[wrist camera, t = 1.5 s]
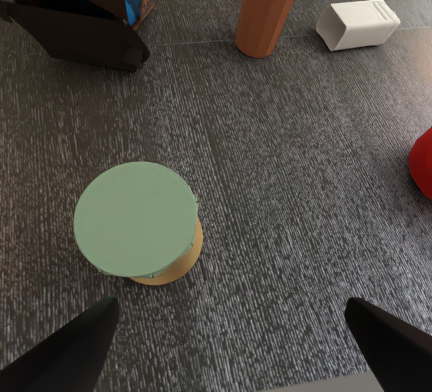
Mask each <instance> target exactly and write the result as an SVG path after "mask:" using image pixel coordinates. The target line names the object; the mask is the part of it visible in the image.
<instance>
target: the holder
mask: <svg viewBox="0 0 432 392" xmlns="http://www.w3.org/2000/svg"><path fill="white" fill-rule="evenodd" d="M202 242H203V234H202V228H201V224H200V222H199V219H198V217H197V223H196V230H195V238H194V244H193V247H192V250H191V253H190V255H189V257H187V258H186V259H185V260H184V261H183V262H181V263H180V264H179V265H178V266H177V267H175V268H174V269H173V270H172V271H171V272H169V273H168V274H164V275H161V276H158V277H154V278H151V279H149V278H137V277H129V278H131V279H132V280H134V281H136V282H138V283H142V284H146V285H163V284H167V283H170V282H173V281H175V280H177V279H179V278H180V277H182V276H183V275H184V274H186V273H187V272H188V271H189V270H190V269H191V268H192V266H193V265H194V264H195V262H196V260H197V259H198V257H199V254H200V251H201V248H202Z"/></svg>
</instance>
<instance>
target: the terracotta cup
mask: <svg viewBox="0 0 432 392" xmlns="http://www.w3.org/2000/svg"><path fill="white" fill-rule="evenodd" d="M293 1H294V0H243V1H242V5H241V10H240V15H239V19H238V24H237V29H236V33H235V43H236V45H237V47H238V48H239V50H240V51H242V52H243V53H244V54H246V55H248V56H251V57H255V58H264V57H267V56H269V55H270V54H271V53H272V52H273V50H274V48H275V46H276V43H277V41H278V38H279V36H280V33H281V31H282V28H283V26H284V23H285V21H286V18H287V16H288V13H289V11H290V8H291V6H292V3H293Z"/></svg>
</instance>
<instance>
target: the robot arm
mask: <svg viewBox="0 0 432 392" xmlns="http://www.w3.org/2000/svg"><path fill="white" fill-rule="evenodd" d="M344 317H345V321H346V323H347V325H348V327H349V329H350V331H351V333H352V335H353V337H354V339H355V340H356V342H357V344H358V346H359V348H360V350H361V352H362V354H363V356H364V358H365V360H366V362H367V364H368V365H369V367H370V369H371V370H372V372H373V373H374V375H375V377H376V378H377V380H378V382H379V384H380V385H381V387H382V388H383V390H384V392H432V336H430V335H429V334H427V333H425V332H423V331H421V330H419V329H417V328H416V327H414V326H412V325H410V324H408V323H406V322H405V321H403V320H401V319H399V318H397V317H395V316H393V315H392V314H390V313H388V312H386V311H384V310H382V309H381V308H379V307H377V306H375V305H373V304H371V303H369V302H368V301H366V300H364V299H362V298H359V297H351V298H349V299H348V301H347V305H346V309H345V314H344ZM118 320H119V306H118V298H117V297H116V296H106V297H104V298H102V299H101V300H99V301H98V302H97V303H95V304H94V305H92V306H91V307H90V308H88V309H87V310H85V311H84V312H83V313H81V314H80V315H78V316H77V317H76V318H74V319H73V320H71V321H70V322H68V323H67V324H66V325H64V326H63V327H61V328H60V329H59V330H57V331H56V332H54V333H53V334H52V335H50V336H49V337H47V338H46V339H45V340H43V341H42V342H40V343H39V344H37V345H36V346H35V347H33V348H32V349H30V350H29V351H28V352H26V353H25V354H23V355H22V356H21V357H19V358H18V359H16V360H15V361H14V362H12V363H11V364H9V365H8V366H6V367H5V368H4V369H2V370H1V371H0V392H92V391H93V388H94V386H95V384H96V382H97V379H98V377H99V375H100V372H101V370H102V367H103V365H104V362H105V359H106V356H107V353H108V350H109V347H110V344H111V341H112V338H113V335H114V332H115V329H116V326H117V323H118Z"/></svg>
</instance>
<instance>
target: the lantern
mask: <svg viewBox="0 0 432 392" xmlns="http://www.w3.org/2000/svg"><path fill="white" fill-rule="evenodd" d="M153 7H154V2H153V0H0V17H1V18H2V19H3V20H5V21H7V22H10V23H13V21H12V20H11V19H10V17H11V18H12V19H14V20H15V21H16V22H17V23H18V24H19V25H21V26H22V27H23V28H24V29H25V30H26V31H28V32H29V33H30V34H31V35H32V36H33V37H34V38H35V39H36V40H37V41H38V42H39V43H40V44H41V45H42V46H43V48H44V49H46V51H47V53H48V54H49V55H50V56H51V57H54V58H57V59H65V60H72V61H79V62H84V63H90V64H95V65H99V66H105V67H110V68H115V69H120V70H125V71H130V72H136V71H137V68H138V69H142V67H143V64H144V62H145V61H146V60H147V59H148V58H149V57H150V55H151V54H150V51H149V50H148V49H147V47H146V46H145V44H144V42H143V41H142V40H141V38H140V37H139V36H138V34H137V33H136V32H135V30H136V29H137V27H138V26H139V25H140V23H141V22H142V21H143V20H144V18H145V17H146V16H147V15H148V14H149V12H150V11H151V10H152V8H153ZM9 16H10V17H9Z"/></svg>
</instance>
